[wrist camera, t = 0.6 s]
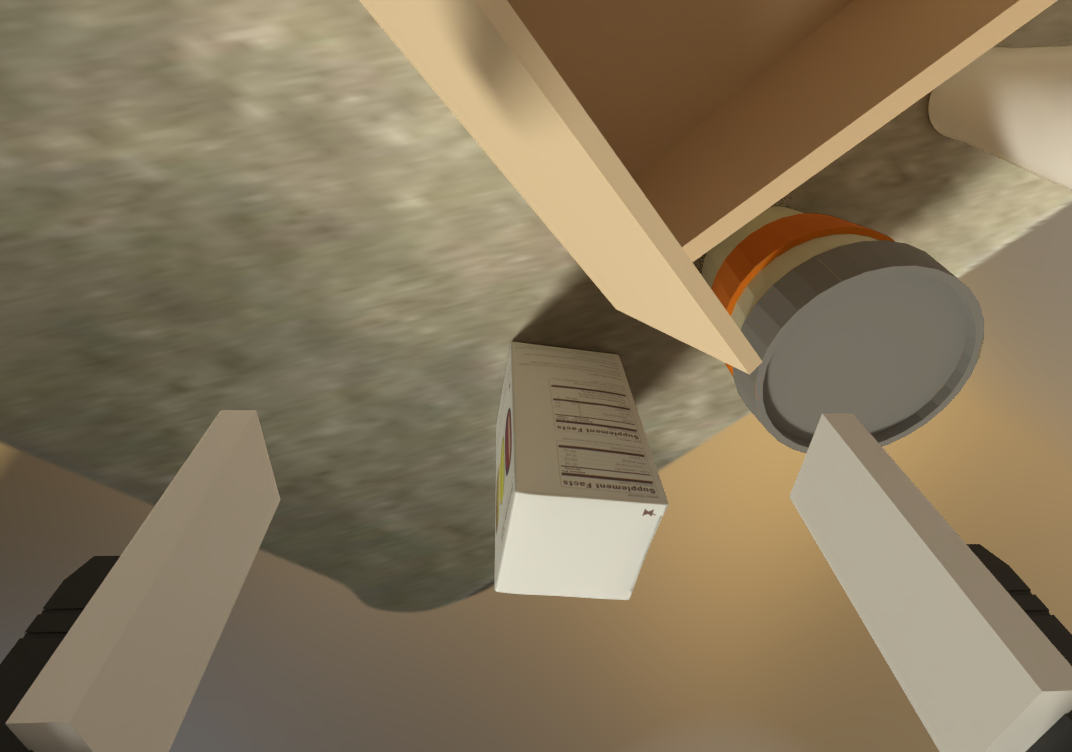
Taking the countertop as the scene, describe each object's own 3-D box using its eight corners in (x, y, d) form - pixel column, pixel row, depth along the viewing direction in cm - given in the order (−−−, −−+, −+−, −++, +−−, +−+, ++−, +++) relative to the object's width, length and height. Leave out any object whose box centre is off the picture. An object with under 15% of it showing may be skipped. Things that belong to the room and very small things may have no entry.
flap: (228, -188, 18) (214, -174, 18) (120, -547, 9) (94, -519, 9) (624, 300, 28) (615, 309, 28) (762, 361, 19) (749, 374, 19)
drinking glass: (930, 168, 40) (1127, 242, 27) (897, 84, 37) (1102, 123, 24) (1031, 101, 38) (1294, 148, 25) (1005, 6, 35) (1290, 6, 22)
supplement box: (509, 338, 46) (513, 486, 32) (621, 351, 47) (673, 500, 33) (494, 432, 51) (491, 597, 37) (595, 442, 52) (631, 605, 38)
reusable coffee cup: (771, 359, 48) (867, 485, 35) (646, 300, 44) (703, 416, 32) (881, 227, 42) (1042, 321, 30) (747, 147, 39) (866, 215, 26)
